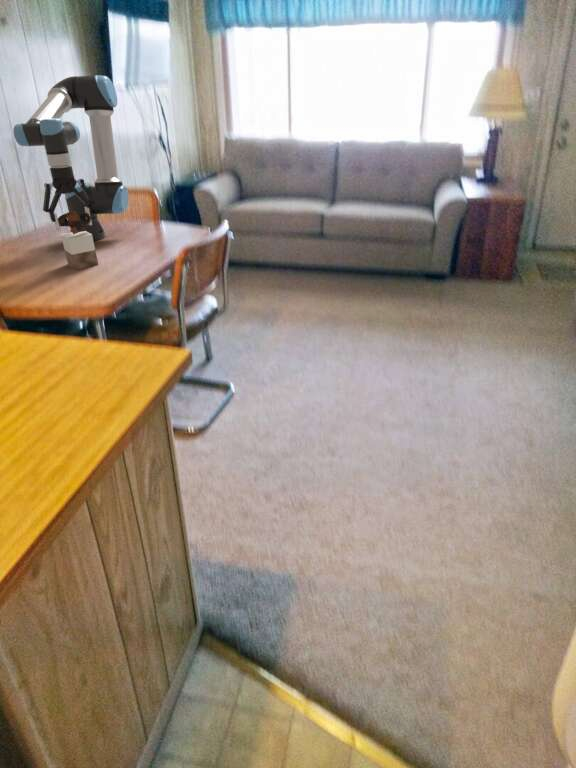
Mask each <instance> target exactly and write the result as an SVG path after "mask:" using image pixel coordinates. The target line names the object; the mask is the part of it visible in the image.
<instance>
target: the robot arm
mask: <svg viewBox="0 0 576 768" xmlns="http://www.w3.org/2000/svg"><path fill="white" fill-rule="evenodd" d="M117 106H118V95H117V92H116V89H115V86H114V83H113V81H112V80H111V79H110V78H109V76H106V75H98V74H96V75H79V76H74V75H73V76H69V77H66V78H64V79H62V80H60V81H58V82H57V83H55V84H54V85H53V86H52V87H51V88H50V90H49V91H48V92H47V98H45V99H44V101H43V102H42V104H41V105H40V106H39V107H38V108H37V109H36V111H35V112H34V113H33V115H32V116H31V117H30V118H29V119H28V120H27V121H26V123H18V124H15V125H14V126H13V137H14V140H15V142H16V143H17V144H18V145H19V146H21V147H41V146H42V147H44V150H45V154H46V158H47V162H48V166H49V167H50V168H49V171H50V175H51V179H52V182H51V183H44V197H43V206H42V209H43V210H42V211H43V212H46V213H49V216H50V221H51V222H53V223H54V226H55V230H56V231H57V232H61V226H59V222H58V218H59V217H58V214H57V212H55V210H56V208H57V206H58V203H59V200H60V198H61V196H62V194H63V195H64V196H65V197H64V199H65V202H66V206H67V209H68V211H67V212H71V211H75V212H76V214H78V215H80V214H83V213H88V214H89V215H90V216H91V221H90V223H89V224H88V225H87V228H85V229H86V231H87V232H88V233H90V234H92V237H93V242H94V241H98V240H101V239H104V238H106V231H105V230H104V228H103V226H102V224H101V222H100V220H99V218H98V217H99V216H98V215H118V214H124V213H125V212H126V211H127V210H128V206H129V203H130V201H129V200H130V196H129V190H128V187H127V185H124V184H123V181H122V180H121V179H120V178H119V174H118V167H117V158H116V157H117V156H116V151H115V143H114V142H115V141H114V133H113V127H112V115H113V114H114V112H115V111H114V108H116V107H117ZM74 109H84V113H85V114H86V115H87V116H88V118H89V125H90V132H91V140H92V148H93V154H94V162H95V169H96V176H97V178H96V179H95V180H94V186H92V184H91V182H85V180H84V179H83V178H78V179H75V175H74V170H73V167H72V161H71V157H70V154H69V148H68V146H69V145H74V144H75V143H77V142H78V141H79V140H80V137H81V131H80V129H79V126H78V125H76V123H74V122H72V121H62V119H61V118H62V116H63V115H64V114H65V113H68V112H70V111H71V110H74ZM53 188H54V189H55V192H54V195H53V198H52V201H51V194H52V192H51V191H52V190H53ZM50 201H51V202H50ZM80 219H81V218H80ZM84 221H85V222H86V221H87V217H84ZM71 232H72V231H71V230H70V231H69V233H71Z"/></svg>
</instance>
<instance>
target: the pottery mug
mask: <svg viewBox="0 0 576 768" xmlns="http://www.w3.org/2000/svg"><path fill="white" fill-rule="evenodd" d="M84 217H87V221H86V222H85V221H84ZM57 218H58V222H59V226H60V228H61V227H69V228H70V230H71V231H72V233H73V234H76V233H78V232H83V231H86V229H85V228H87V225H88V224H89V223H90V221H91V216H90V215H89V214H88V213H83V214H80V215H78V214H76V212H75V211H71V212H69V211H67V212H66V213H63V214H62V215H60V216H58V217H57ZM80 218H81V219H80Z"/></svg>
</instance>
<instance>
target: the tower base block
mask: <svg viewBox="0 0 576 768" xmlns="http://www.w3.org/2000/svg"><path fill="white" fill-rule="evenodd" d="M64 253H65V258H66V263H67V265H68V266H69V267H71V268H72V269H74V271H75V270H81V268H82V269H86V268H89V266H91V267H94V265H95V266H98V265H99V261H98V256H97V251H96V249H95V250H93V251H88V252H83V253H78V254H73V255H71V254H70V253H69V252H67V251H66V250H65V249H64ZM85 267H86V268H85Z"/></svg>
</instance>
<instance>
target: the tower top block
mask: <svg viewBox="0 0 576 768" xmlns="http://www.w3.org/2000/svg"><path fill="white" fill-rule="evenodd" d="M60 237H61V240H62V245H63V248H64V251H65V250H66V251H67V252H69V253H70V254H71V255H73V254H78V253H83V252H88V251H93V250H95V251H96V247H95V243H94V241H93V237H92V234H90V233H88V232H87V231H83V232H78V233H76V234H73V233H72V232H71V233H70V232H66V233H61V234H60Z"/></svg>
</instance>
